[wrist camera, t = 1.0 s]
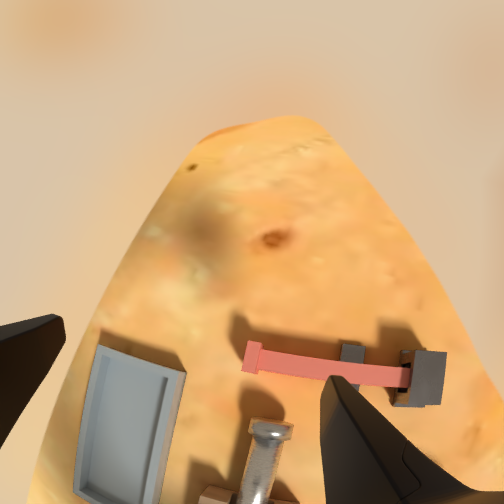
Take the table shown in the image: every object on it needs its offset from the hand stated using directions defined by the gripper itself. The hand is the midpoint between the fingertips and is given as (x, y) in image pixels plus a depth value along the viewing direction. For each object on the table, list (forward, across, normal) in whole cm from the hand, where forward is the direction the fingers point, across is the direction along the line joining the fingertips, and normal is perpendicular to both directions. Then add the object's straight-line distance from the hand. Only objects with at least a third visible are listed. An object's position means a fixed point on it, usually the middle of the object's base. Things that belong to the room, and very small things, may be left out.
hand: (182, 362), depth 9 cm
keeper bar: (+13, -10, +9) cm, 19 cm away
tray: (+8, +7, +19) cm, 22 cm away
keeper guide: (+12, -14, +9) cm, 21 cm away
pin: (+6, -5, +18) cm, 20 cm away
